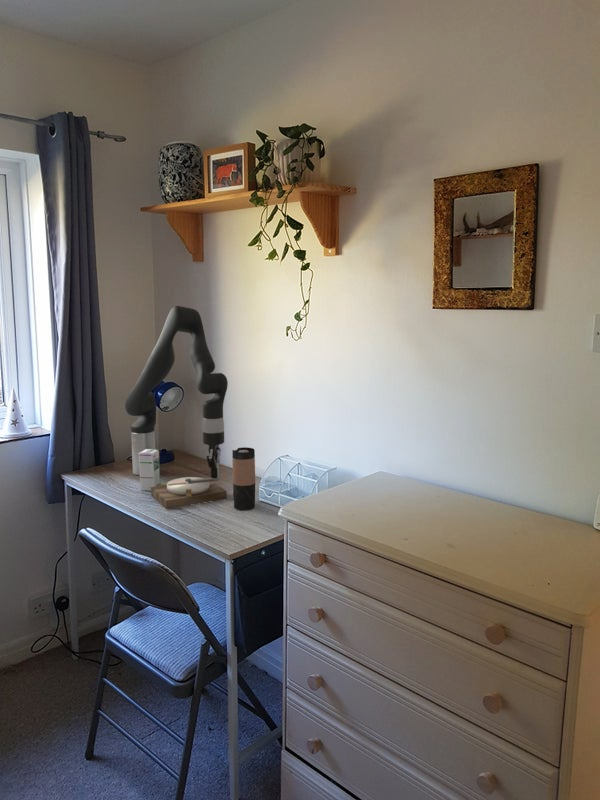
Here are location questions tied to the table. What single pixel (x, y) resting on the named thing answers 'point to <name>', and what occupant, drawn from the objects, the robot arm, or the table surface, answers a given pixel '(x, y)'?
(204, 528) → the table surface
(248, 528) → the table surface
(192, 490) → the dial
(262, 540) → the table surface
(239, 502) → the travel mug
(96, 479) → the table surface
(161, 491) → the dial stand
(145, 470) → the syrup box
